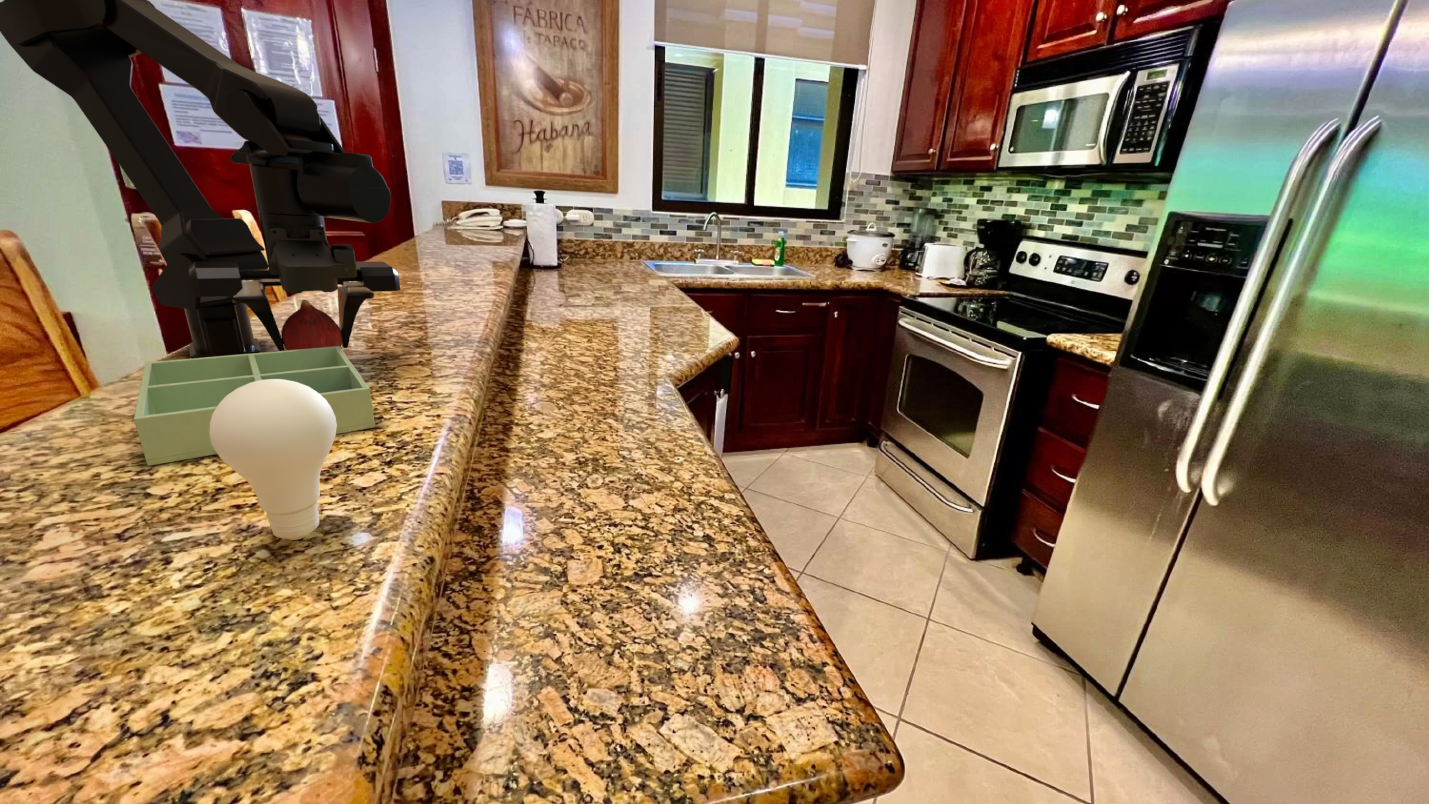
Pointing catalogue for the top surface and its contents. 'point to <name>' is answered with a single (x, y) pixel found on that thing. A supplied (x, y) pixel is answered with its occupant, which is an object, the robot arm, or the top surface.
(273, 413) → the lightbulb
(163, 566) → the top surface
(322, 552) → the top surface
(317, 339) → the onion
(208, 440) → the divided tray
